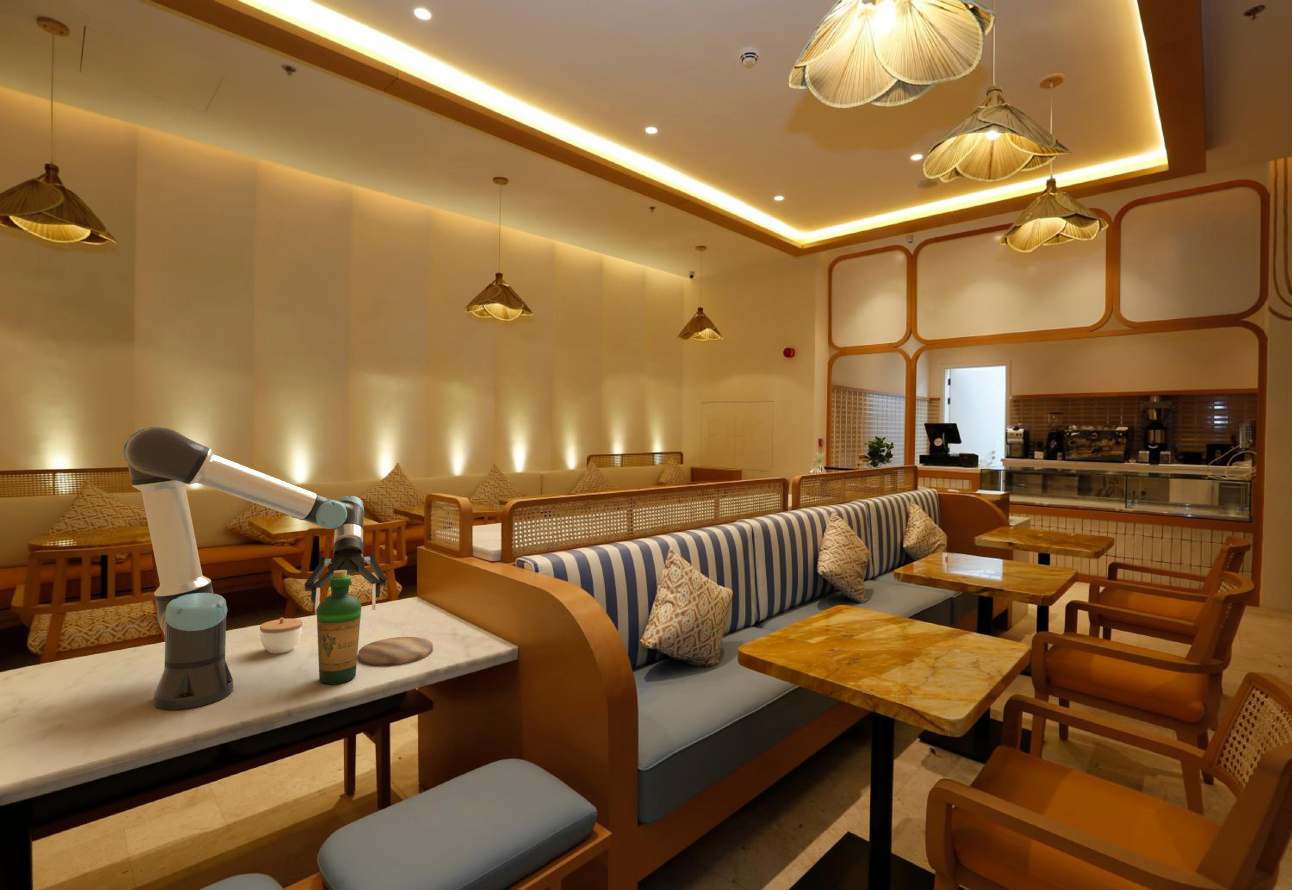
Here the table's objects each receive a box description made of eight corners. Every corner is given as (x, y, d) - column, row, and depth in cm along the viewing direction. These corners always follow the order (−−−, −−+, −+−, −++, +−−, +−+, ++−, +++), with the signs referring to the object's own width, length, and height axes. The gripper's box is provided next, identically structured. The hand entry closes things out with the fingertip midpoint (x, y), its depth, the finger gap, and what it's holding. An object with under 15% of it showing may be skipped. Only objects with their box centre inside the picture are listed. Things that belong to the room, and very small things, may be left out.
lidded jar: (287, 657, 171) (288, 624, 171) (250, 655, 171) (251, 622, 171) (309, 644, 181) (310, 613, 181) (274, 643, 182) (275, 612, 182)
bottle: (319, 690, 148) (322, 577, 148) (310, 677, 157) (313, 569, 157) (365, 680, 155) (368, 572, 155) (354, 668, 163) (357, 565, 163)
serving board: (394, 670, 163) (394, 664, 163) (342, 657, 171) (342, 652, 171) (447, 648, 181) (447, 643, 181) (398, 637, 189) (398, 633, 189)
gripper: (394, 549, 181) (395, 612, 167) (299, 553, 170) (292, 621, 157) (395, 534, 176) (397, 598, 162) (298, 538, 165) (290, 606, 152)
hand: (345, 609), depth 160 cm, fingers open, 13 cm apart
